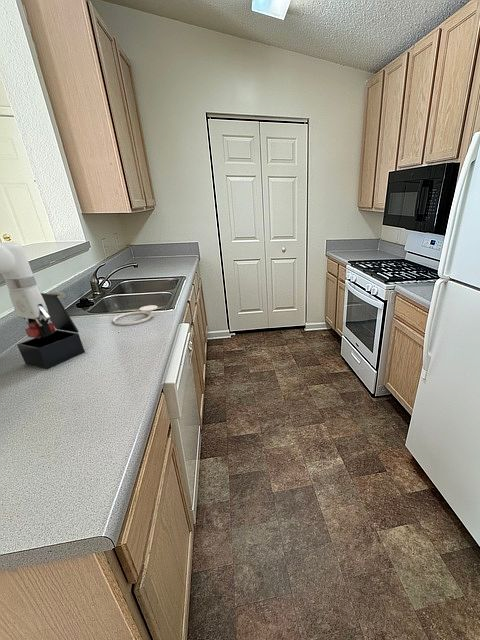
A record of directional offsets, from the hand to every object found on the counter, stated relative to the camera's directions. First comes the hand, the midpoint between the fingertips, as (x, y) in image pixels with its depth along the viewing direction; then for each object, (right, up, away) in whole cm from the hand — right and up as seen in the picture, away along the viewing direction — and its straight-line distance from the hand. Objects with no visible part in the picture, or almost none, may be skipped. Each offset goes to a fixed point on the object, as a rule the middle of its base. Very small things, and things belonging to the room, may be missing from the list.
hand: (42, 334), depth 116 cm
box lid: (+2, +8, +3) cm, 9 cm away
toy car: (0, 0, 0) cm, 0 cm away
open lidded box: (+1, -8, +6) cm, 10 cm away
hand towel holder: (+12, +11, +43) cm, 46 cm away
